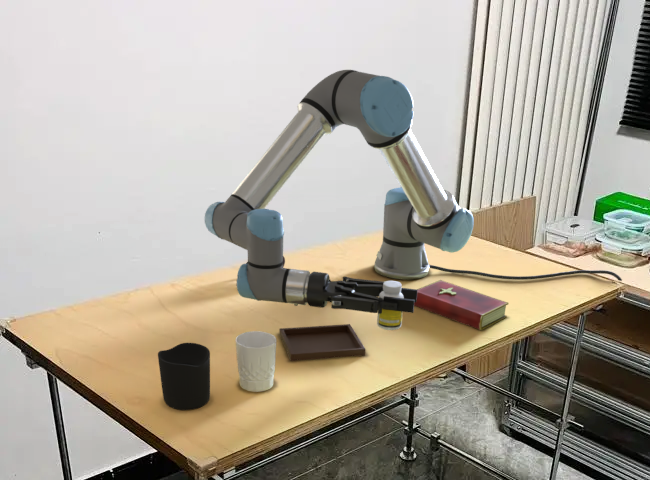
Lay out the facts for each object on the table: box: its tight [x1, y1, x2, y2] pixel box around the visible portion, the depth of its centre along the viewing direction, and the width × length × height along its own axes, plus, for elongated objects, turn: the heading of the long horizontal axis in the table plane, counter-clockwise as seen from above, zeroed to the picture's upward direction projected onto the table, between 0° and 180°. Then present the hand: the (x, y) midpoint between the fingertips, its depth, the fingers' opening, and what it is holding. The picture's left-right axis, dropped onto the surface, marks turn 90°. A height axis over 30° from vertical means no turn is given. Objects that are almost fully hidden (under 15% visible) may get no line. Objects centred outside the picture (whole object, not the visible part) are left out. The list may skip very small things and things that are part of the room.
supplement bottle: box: [376, 280, 404, 331], centre depth 174 cm, size 5×5×10 cm
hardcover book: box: [414, 279, 509, 331], centre depth 203 cm, size 12×21×4 cm, turn 51°
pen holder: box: [157, 342, 211, 411], centre depth 153 cm, size 9×9×10 cm
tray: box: [278, 323, 366, 362], centre depth 180 cm, size 17×14×2 cm
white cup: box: [235, 330, 277, 393], centre depth 160 cm, size 8×8×10 cm
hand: (415, 301), depth 173 cm, fingers closed on supplement bottle, 5 cm apart
